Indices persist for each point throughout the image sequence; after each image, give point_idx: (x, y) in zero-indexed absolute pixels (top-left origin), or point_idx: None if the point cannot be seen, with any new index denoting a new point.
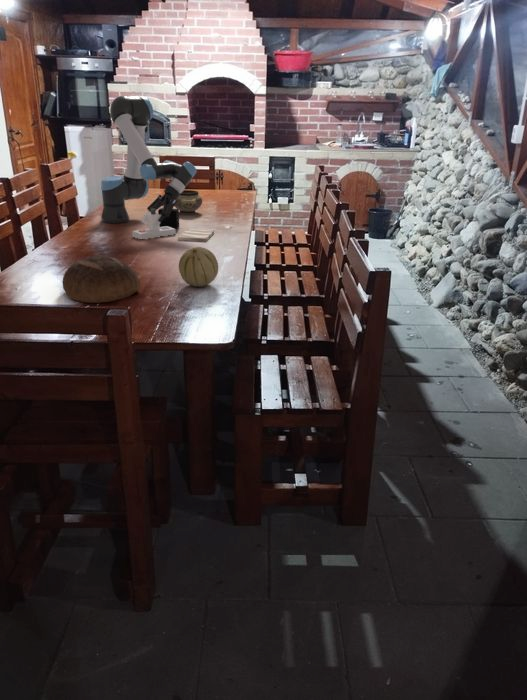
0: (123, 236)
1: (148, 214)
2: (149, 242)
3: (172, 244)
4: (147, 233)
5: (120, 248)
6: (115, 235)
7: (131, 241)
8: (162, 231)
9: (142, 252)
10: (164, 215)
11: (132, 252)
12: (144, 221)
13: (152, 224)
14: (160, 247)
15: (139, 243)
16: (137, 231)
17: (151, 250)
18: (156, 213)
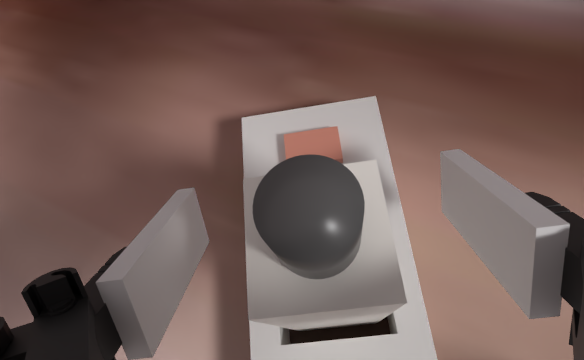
0: (416, 75)
1: (351, 166)
2: (162, 171)
3: (8, 294)
4: (245, 177)
5: (148, 7)
6: (469, 40)
7: (253, 84)
8: (252, 342)
9: (10, 72)
10: (29, 331)
11: (46, 35)
12: (447, 189)
13: (191, 189)
14: (13, 187)
15: (179, 110)
16: (338, 123)
17: (4, 120)
18: (330, 305)
